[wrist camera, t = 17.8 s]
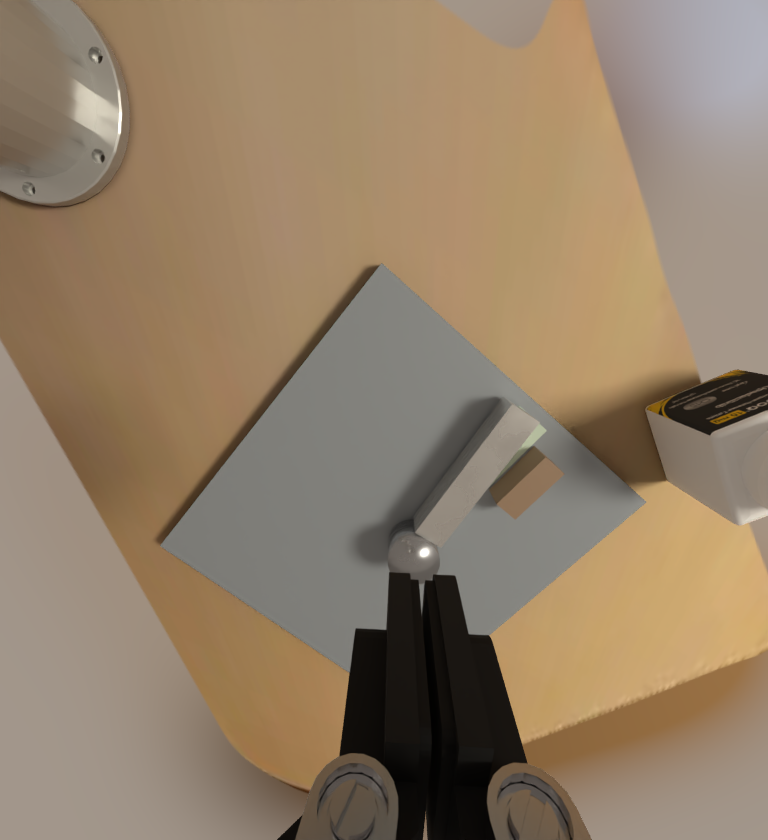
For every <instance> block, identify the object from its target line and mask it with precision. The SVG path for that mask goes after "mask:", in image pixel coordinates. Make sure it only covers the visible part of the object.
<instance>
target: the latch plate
mask: <svg viewBox="0 0 768 840" xmlns="http://www.w3.org/2000/svg"><path fill="white" fill-rule="evenodd" d="M502 397H504V398H506V399H508V400H509V401H511V402H512V403H514V404H515V405H517V406H518V407H520V408H521V409H523V410H524V411H526V412H527V413H529V414H530V415H531V416H533V417H534V418H535V419H536V420H537V421H539V422H540V423H539V424H538V426H537V427H536V428H535V429H534V431H533V432H532V433H531V435H530V436H529V437H528V438H527V440H526V441H525V442H524V443H523V445H522V446H521V447H520V448H519V450H518V451H517V452H516V454H515V455H514V456H513V457H512V459H511V460H510V461H509V462H508V464H507V465H506V466H505V467H504V469H503V470H502V471H501V472H500V474H499V475H498V476H497V478H496V479H495V480H494V481H493V483H492V484H491V485H490V486H489V488H488V489H487V490H486V491H485V493H484V494H483V495H482V497H481V498H480V499H479V500H478V502H477V503H476V504H475V505H474V507H473V508H472V509H471V510H470V512H469V513H468V514H467V516H466V517H465V518H464V519H463V521H462V522H461V523H460V524H459V526H458V527H457V528H456V529H455V531H454V532H453V533H452V535H451V536H450V537H449V538H448V540H447V541H446V542H445V543H444V545H443V546H442V547H441V548H440V547H438V546H437V547H438V553H439V558H440V567H439V570H438V572H437V575H455V576H456V579H457V584H458V588H459V593H460V597H461V602H462V606H463V611H464V615H465V620H466V624H467V629H468V633H469V634H475V635H490V634H491V633H493V632H494V631H495V630H496V629H497V628H498V627H500V626H501V625H502V624H503V623H504V622H506V621H507V620H508V619H509V618H510V617H511V616H513V615H514V614H515V613H516V612H517V611H519V610H520V609H521V608H522V607H523V606H524V605H526V604H527V603H528V602H529V601H530V600H531V599H533V598H534V597H535V596H536V595H537V594H539V593H540V592H541V591H542V590H543V589H544V588H546V587H547V586H548V585H549V584H550V583H552V582H553V581H554V580H555V579H556V578H557V577H559V576H560V575H561V574H562V573H563V572H565V571H566V570H567V569H568V568H569V567H570V566H572V565H573V564H574V563H575V562H576V561H578V560H579V559H580V558H581V557H582V556H583V555H585V554H586V553H587V552H588V551H589V550H591V549H592V548H593V547H594V546H595V545H596V544H598V543H599V542H600V541H601V540H602V539H603V538H605V537H606V536H607V535H608V534H609V533H611V532H612V531H613V530H614V529H615V528H616V527H618V526H619V525H620V524H621V523H622V522H624V521H625V520H626V519H627V518H628V517H629V516H631V515H632V514H633V513H634V512H635V511H637V510H638V509H639V508H640V507H641V506H642V505H644V504H645V503H646V501H645V500H644V499H642V498H641V497H640V496H639V495H638V494H637V493H636V492H635V491H634V490H633V489H631V488H630V487H629V486H628V485H627V484H626V483H625V482H624V481H623V480H621V479H620V478H619V477H618V476H617V475H616V474H615V473H614V472H613V471H611V470H610V469H609V468H608V467H607V466H606V465H605V464H604V463H603V462H601V461H600V460H599V459H598V458H597V457H596V456H595V455H594V454H593V453H592V452H590V451H589V450H588V449H587V448H586V447H585V446H584V445H583V444H582V443H580V442H579V441H578V440H577V439H576V438H575V437H574V436H573V435H572V434H570V433H569V432H568V431H567V430H566V429H565V428H564V427H563V426H562V425H561V424H559V423H558V422H557V421H556V420H555V419H554V418H553V417H552V416H551V415H549V414H548V413H547V412H546V411H545V410H544V409H543V408H542V407H541V406H539V405H538V404H537V403H536V402H535V401H534V400H533V399H532V398H531V397H530V396H528V395H527V394H526V393H525V392H524V391H523V390H522V389H521V388H520V387H518V386H517V385H516V384H515V383H514V382H513V381H512V380H511V379H510V378H508V377H507V376H506V375H505V374H504V373H503V372H502V371H501V370H500V369H498V368H497V367H496V366H495V365H494V364H493V363H492V362H491V361H490V360H489V359H487V358H486V357H485V356H484V355H483V354H482V353H481V352H480V351H479V350H477V349H476V348H475V347H474V346H473V345H472V344H471V343H470V342H469V341H467V340H466V339H465V338H464V337H463V336H462V335H461V334H460V333H459V332H458V331H456V330H455V329H454V328H453V327H452V326H451V325H450V324H449V323H448V322H446V321H445V320H444V319H443V318H442V317H441V316H440V315H439V314H438V313H436V312H435V311H434V310H433V309H432V308H431V307H430V306H429V305H428V304H427V303H425V302H424V301H423V300H422V299H421V298H420V297H419V296H418V295H417V294H415V293H414V292H413V291H412V290H411V289H410V288H409V287H408V286H407V285H405V284H404V283H403V282H402V281H401V280H400V279H399V278H398V277H397V276H395V275H394V274H393V273H392V272H391V271H390V270H389V269H388V268H387V267H386V266H384V265H383V264H382V263H381V265H380V266H379V267H378V268H377V270H376V271H375V272H374V273H373V275H372V276H371V277H370V279H369V280H368V281H367V282H366V284H365V285H364V286H363V287H362V289H361V290H360V291H359V293H358V294H357V295H356V296H355V298H354V299H353V300H352V302H351V303H350V304H349V305H348V307H347V308H346V309H345V310H344V312H343V313H342V314H341V316H340V317H339V318H338V319H337V321H336V322H335V323H334V324H333V326H332V327H331V328H330V330H329V331H328V332H327V333H326V335H325V336H324V337H323V339H322V340H321V341H320V342H319V344H318V345H317V346H316V347H315V349H314V350H313V351H312V353H311V354H310V355H309V356H308V358H307V359H306V360H305V361H304V363H303V364H302V365H301V367H300V368H299V369H298V370H297V372H296V373H295V374H294V376H293V377H292V378H291V379H290V381H289V382H288V383H287V384H286V386H285V387H284V388H283V390H282V391H281V392H280V393H279V395H278V396H277V397H276V398H275V400H274V401H273V402H272V404H271V405H270V406H269V407H268V409H267V410H266V411H265V413H264V414H263V415H262V416H261V418H260V419H259V420H258V421H257V423H256V424H255V425H254V427H253V428H252V429H251V430H250V432H249V433H248V434H247V436H246V437H245V438H244V439H243V441H242V442H241V443H240V444H239V446H238V447H237V448H236V450H235V451H234V452H233V453H232V455H231V456H230V457H229V458H228V460H227V461H226V462H225V464H224V465H223V466H222V467H221V469H220V470H219V471H218V473H217V474H216V475H215V476H214V478H213V479H212V480H211V481H210V483H209V484H208V485H207V487H206V488H205V489H204V490H203V492H202V493H201V494H200V495H199V497H198V498H197V499H196V501H195V502H194V503H193V504H192V506H191V507H190V508H189V510H188V511H187V512H186V513H185V515H184V516H183V517H182V518H181V520H180V521H179V522H178V524H177V525H176V526H175V527H174V529H173V530H172V531H171V532H170V534H169V535H168V536H167V538H166V539H165V540H164V541H163V543H162V544H161V545H160V546H161V547H162V548H164V549H165V550H167V551H168V552H170V553H171V554H173V555H174V556H176V557H177V558H179V559H180V560H182V561H183V562H185V563H186V564H188V565H189V566H191V567H192V568H194V569H195V570H197V571H198V572H200V573H201V574H203V575H204V576H206V577H207V578H209V579H210V580H212V581H213V582H215V583H216V584H218V585H219V586H221V587H222V588H224V589H225V590H227V591H228V592H230V593H231V594H233V595H234V596H236V597H237V598H239V599H240V600H242V601H243V602H245V603H246V604H248V605H249V606H251V607H252V608H254V609H255V610H257V611H258V612H260V613H261V614H263V615H264V616H266V617H267V618H268V619H270V620H271V621H273V622H274V623H276V624H277V625H279V626H280V627H282V628H283V629H285V630H286V631H288V632H289V633H291V634H292V635H294V636H295V637H297V638H298V639H300V640H301V641H303V642H304V643H306V644H307V645H309V646H310V647H312V648H313V649H315V650H316V651H318V652H319V653H321V654H322V655H324V656H325V657H327V658H328V659H330V660H331V661H333V662H334V663H336V664H337V665H339V666H340V667H342V668H343V669H345V670H346V671H348V672H349V673H350V667H351V659H352V651H353V643H354V635H355V629H356V628H362V629H381V630H386V624H387V604H388V583H389V572H390V571H389V568H388V539H389V534H390V532H391V530H392V529H393V527H394V526H396V525H397V524H398V523H400V522H402V521H405V520H411V519H414V515H415V514H416V512H417V511H418V510H419V508H420V507H421V506H422V504H423V503H424V502H425V500H426V499H427V498H428V496H429V495H430V494H431V492H432V491H433V490H434V488H435V487H436V486H437V484H438V483H439V482H440V480H441V479H442V478H443V476H444V475H445V474H446V472H447V471H448V470H449V468H450V467H451V466H452V464H453V463H454V461H455V460H456V459H457V457H458V456H459V455H460V453H461V452H462V451H463V449H464V448H465V447H466V445H467V444H468V443H469V441H470V440H471V439H472V437H473V436H474V435H475V433H476V432H477V431H478V429H479V428H480V427H481V425H482V424H483V423H484V421H485V420H486V419H487V417H488V416H489V414H490V413H491V412H492V410H493V409H494V408H495V406H496V405H497V404H498V402H499V401H500V400H501V398H502ZM431 580H432V579H431ZM419 589H420V601H421V612H422V607H423V594H424V583H423V584H420V585H419Z"/></svg>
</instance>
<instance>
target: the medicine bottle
mask: <svg viewBox="0 0 768 840" xmlns="http://www.w3.org/2000/svg"><path fill="white" fill-rule="evenodd" d="M645 411H646V414H647V418H648V421H649V424H650V427H651V430H652V434H653V437H654V440H655V443H656V446H657V450H658V453H659V456H660V459H661V462H662V466H663V469H664V472H665V475H666V478H667V480H668V481H669V482H670V483H672V484H673V485H675V486H676V487H678V488H679V489H681V490H682V491H684V492H686V493H687V494H689V495H690V496H692V497H693V498H695V499H696V500H698V501H700V502H701V503H703V504H704V505H706V506H707V507H709V508H710V509H712V510H714V511H715V512H717V513H718V514H720V515H721V516H723V517H724V518H726V519H728V520H729V521H731V522H732V523H734V524H737V525H743V524H746V523H749V522H751V521H754V520H757V519H760V518H762V517H765V516H768V375H763V374H758V373H753V372H747V371H742V370H733V371H730V372H728V373H725V374H723V375H721V376H718V377H716V378H713V379H711V380H709V381H706V382H704V383H701V384H699V385H697V386H694V387H692V388H689V389H687V390H685V391H682V392H680V393H677V394H675V395H673V396H670V397H668V398H665V399H663V400H661V401H658V402H656V403H653V404H651V405H649V406H647V407H646V409H645Z"/></svg>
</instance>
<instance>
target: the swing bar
mask: <svg viewBox="0 0 768 840" xmlns="http://www.w3.org/2000/svg"><path fill="white" fill-rule="evenodd" d="M539 423H540V422H539V421H537V420H536V419H535V418H534V417H533V416H531V415H530V414H529V413H527V412H526V411H524V410H523V409H521V408H520V407H518V406H517V405H515V404H514V403H512V402H511V401H509V400H508V399H506V398H504V397H502V398H501V400H500V401H499V402H498V404H497V405H496V406H495V408H494V409H493V410H492V412H491V413H490V414H489V416H488V417H487V419H486V420H485V421H484V423H483V424H482V425H481V427H480V428H479V429H478V431H477V432H476V433H475V435H474V436H473V437H472V439H471V440H470V441H469V443H468V444H467V445H466V447H465V448H464V449H463V451H462V452H461V453H460V455H459V456H458V457H457V459H456V460H455V461H454V463H453V464H452V466H451V467H450V468H449V470H448V471H447V472H446V474H445V475H444V476H443V478H442V479H441V480H440V482H439V483H438V484H437V486H436V487H435V488H434V490H433V491H432V492H431V494H430V495H429V496H428V498H427V499H426V500H425V502H424V503H423V504H422V506H421V507H420V508H419V510H418V511H417V512H416V514H415V515H414V519H411V520H405V521H402V522H400V523H398V524H397V525H396V526H394V527H393V529H392V530H391V532H390V534H389V539H388V568H389V571H390V572H397V573H410V575H411V579H415V580H419V585H420V584H423V583H425V580H431V579H432V578H433V575H434V574H437V572H438V570H439V567H440V558H439V553H438V547H440V548H441V547H442V546H443V545H444V543H445V542H446V541H447V540H448V538H449V537H450V536H451V535H452V533H453V532H454V531H455V529H456V528H457V527H458V526H459V524H460V523H461V522H462V521H463V519H464V518H465V517H466V516H467V514H468V513H469V512H470V510H471V509H472V508H473V507H474V505H475V504H476V503H477V502H478V500H479V499H480V498H481V497H482V495H483V494H484V493H485V491H486V490H487V489H488V488H489V486H490V485H491V484H492V483H493V481H494V480H495V479H496V478H497V476H498V475H499V474H500V472H501V471H502V470H503V469H504V467H505V466H506V465H507V464H508V462H509V461H510V460H511V459H512V457H513V456H514V455H515V454H516V452H517V451H518V450H519V448H520V447H521V446H522V445H523V443H524V442H525V441H526V440H527V438H528V437H529V436H530V435H531V433H532V432H533V431H534V429H535V428H536V427H537V426H538V424H539ZM437 546H438V547H437Z"/></svg>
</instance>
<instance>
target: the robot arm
mask: <svg viewBox="0 0 768 840" xmlns="http://www.w3.org/2000/svg"><path fill="white" fill-rule="evenodd" d="M129 131H130V107H129V101H128V95H127V89H126V84H125V81H124V78H123V75H122V72H121V69H120V66H119V63H118V61H117V59H116V57H115V55H114V53H113V51H112V49H111V47H110V45H109V43H108V42H107V40H106V39H105V37H104V36H103V34H102V33H101V31H100V30H99V29H98V27H97V26H96V24H95V23H94V22H93V21H92V20H91V19H90V18H89V17H88V16H87V15H86V14H85V12H84V11H83V10H82V9H81V8H80V7H79V6H78V5H77V4H75V3H74V2H73V1H72V0H0V191H2V192H4V193H6V194H8V195H10V196H13V197H15V198H17V199H20V200H24V201H27V202H31V203H34V204H39V205H46V206H53V207H55V206H68V205H73V204H76V203H79V202H82V201H86V200H87V199H89V198H91V197H92V196H94V195H95V194H97V193H99V192H100V191H101V190H102V189H103V188H104V187H105V186H106V185H107V184H108V183H109V182H110V181H111V180H112V178H113V176H114V175H115V173H116V172H117V170H118V169H119V167H120V165H121V162H122V160H123V157H124V154H125V151H126V149H127V143H128V137H129ZM425 812H426V819H427V837H428V840H592V839H591V837H590V835H589V833H588V831H587V829H586V826H585V824H584V822H583V820H582V818H581V816H580V814H579V812H578V810H577V808H576V806H575V805H574V803H573V802H572V800H571V798H570V796H569V795H568V793H567V792H566V791H565V789H564V788H562V786H560V784H559V783H558V782H557V781H556V780H555V779H554V778H553V777H552V776H550V775H549V774H547V773H546V772H544V771H543V770H542V769H540V768H537V767H535V766H532V765H529V764H528V763H527V760H526V757H525V753H524V750H523V746H522V743H521V739H520V736H519V732H518V729H517V725H516V722H515V718H514V715H513V712H512V708H511V705H510V701H509V698H508V694H507V691H506V687H505V684H504V680H503V677H502V673H501V670H500V667H499V663H498V660H497V656H496V653H495V649H494V646H493V643H492V640H491V638H490V636H489V635H475V634H469V633H468V629H467V624H466V620H465V615H464V611H463V606H462V602H461V597H460V593H459V588H458V584H457V579H456V576H455V575H437V574H434V575H433V578H432V580H425V583H424V594H423V607H422V612H421V601H420V589H419V580H415V579H411V575H410V573H397V572H389V583H388V604H387V624H386V630H381V629H362V628H356V629H355V635H354V643H353V651H352V659H351V667H350V675H349V683H348V691H347V699H346V707H345V715H344V723H343V732H342V740H341V748H340V756H339V757H337V758H336V759H334V760H333V761H331V762H330V763H328V764H327V765H326V766H325V767H324V768H323V770H322V771H321V772H320V773H319V774H318V776H317V777H316V779H315V781H314V783H313V786H312V788H311V790H310V792H309V796H308V799H307V803H306V806H305V809H304V812H303V815H302V816H301V817H300V818H299V819H298V820H297V821H296V822H295V823H294V824H293V825H292V826H291V827H290V828H289V829H288V830H287V831H286V832H285V833H283V834H282V835H281V836H280V837H279V838H278V839H277V840H423V831H424V822H425Z"/></svg>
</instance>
